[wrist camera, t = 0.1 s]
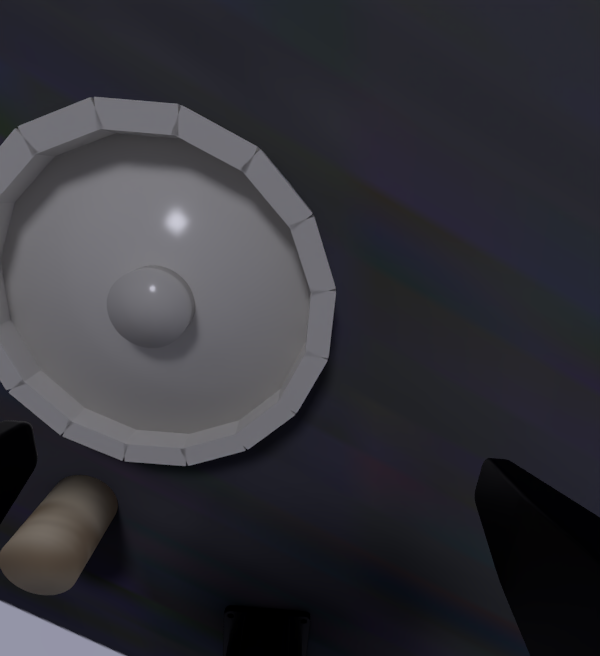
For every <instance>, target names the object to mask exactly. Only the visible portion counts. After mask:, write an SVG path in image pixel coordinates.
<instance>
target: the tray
mask: <svg viewBox="0 0 600 656" xmlns="http://www.w3.org/2000/svg"><path fill="white" fill-rule="evenodd" d="M18 128H19V129H16V128H15V129H14V130H13V131H12V133H11V134H10V135H9V136H8V138H7V139H6V140H5V141H4V142H3V144H2V145H1V146H0V381H1V383H2V384H3V386H4V387H5V389H6V390H8V389H11V390H10V391H9V392H8V393H10V394H11V395H12V396H13V397H15V398H16V399H17V400H18V401H19V402H21V403H22V404H23V405H24V406H25V407H27V408H28V409H29V410H30V411H32V412H33V413H34V414H35V415H36V416H38V417H39V418H40V419H41V420H42V421H44V422H45V423H46V424H47V425H49V426H50V427H51V428H52V429H53V430H55V431H56V432H57V433H58V434H59V435H61V434H62V433H63V432H64V434H63V437H65V438H67V439H70V440H72V441H75V442H77V443H80V444H82V445H85V446H87V447H90V448H92V449H94V450H97V451H99V452H102V453H104V454H107V455H109V456H112V457H114V458H117V459H119V460H121V461H122V460H123V459H124V457H125V461H126V462H138V463H151V464H164V465H177V466H186V465H187V464H188V466H190V465H194V464H198V463H202V462H205V461H209V460H213V459H217V458H220V457H224V456H228V455H232V454H236V453H239V452H243V451H246V448H247V449H250V448H251V447H252V446H254V445H255V444H256V443H258V442H259V441H261V440H262V439H263V438H265V437H266V436H267V435H269V434H270V433H271V432H273V431H274V430H276V429H277V428H278V427H280V426H281V425H282V424H284V423H285V422H286V421H288V420H289V419H291V418H292V417H293V416H295V413H297V412H298V410H299V409H300V407H301V405H302V404H303V402H304V400H305V398H306V397H307V395H308V393H309V392H310V390H311V388H312V387H313V385H314V383H315V381H316V380H317V378H318V376H319V375H320V373H321V371H322V369H323V368H324V366H325V364H326V363H327V361H328V359H327V358H329V350H330V341H331V332H332V323H333V315H334V306H335V297H336V290H335V289H336V287H335V284H334V280H333V277H332V274H331V270H330V267H329V264H328V260H327V257H326V254H325V251H324V247H323V244H322V241H321V237H320V234H319V231H318V227H317V224H316V221H315V217H314V215H312V216H310V215H311V214H313V213H312V211H311V210H310V208H309V207H308V206H307V205H306V204H305V202H304V201H303V200H302V199H301V197H300V196H299V195H298V194H297V192H296V191H295V190H294V188H293V187H292V186H291V184H290V183H289V182H288V181H287V180H286V178H285V177H284V176H283V175H282V174H281V173H280V171H279V170H278V169H277V168H276V166H275V165H274V164H273V163H272V162H271V160H270V159H269V158H268V157H267V155H266V154H265V153H264V152H263V151H262V150H261V149H260V148H258V147H257V146H255V145H253V144H252V143H250V142H248V141H246V140H244V139H242V138H241V137H239V136H237V135H235V134H233V133H232V132H230V131H228V130H226V129H224V128H222V127H221V126H219V125H217V124H215V123H213V122H211V121H210V120H208V119H206V118H204V117H202V116H201V115H199V114H197V113H195V112H193V111H191V110H190V109H188V108H186V107H184V106H182V105H181V106H180V105H179V104H173V103H161V102H149V101H137V100H126V99H114V98H102V97H94V99H93V98H91V97H90V98H87V99H85V100H82V101H80V102H77V103H75V104H72V105H70V106H67V107H65V108H62V109H60V110H57V111H55V112H52V113H50V114H47V115H45V116H42V117H40V118H37V119H35V120H32V121H30V122H27V123H25V124H22V125H20V126H18Z"/></svg>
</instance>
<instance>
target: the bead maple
mask: <svg viewBox="0 0 600 656" xmlns="http://www.w3.org/2000/svg"><path fill="white" fill-rule="evenodd" d="M117 509H118V502H117V498H116V496H115V494H114V492H113V491H112V490H111V489H110V487H108V486H107V485H106V484H105V483H103V482H102V481H100V480H98V479H96V478H93V477H90V476H85V475H73V476H69V477H66V478H64V479H62V480H61V481H60V482H59V483H58V484H57V485H56V486H55V487H54V488H53V490H52V491H51V492H50V493H49V494H48V495H47V497H46V498H45V499H44V500H43V501H42V502H41V504H40V505H39V506H38V507H37V508H36V510H35V511H34V512H33V513H32V514H31V515H30V517H29V518H28V519H27V520H26V521H25V522H24V524H23V525H22V526H21V527H20V528H19V530H18V531H17V532H16V533H15V534H14V535H13V537H12V538H11V539H10V540H9V541H8V542H7V544H6V545H5V546H4V547H3V549H2V550H1V552H0V567H1V570H2V572H3V573H4V575H5V576H6V577H7V578H8V579H9V580H10V581H11V582H12V583H13V584H15V585H16V586H18V587H19V588H21V589H23V590H25V591H28V592H31V593H34V594H39V595H56V594H60V593H63V592H65V591H67V590H69V589H70V588H71V587H72V586H73V585H74V584H75V582H76V581H77V579H78V577H79V576H80V574H81V572H82V570H83V569H84V567H85V565H86V564H87V562H88V560H89V559H90V557H91V555H92V554H93V552H94V550H95V548H96V547H97V545H98V543H99V542H100V540H101V538H102V537H103V535H104V533H105V532H106V530H107V528H108V526H109V525H110V523H111V521H112V520H113V518H114V516H115V515H116V513H117Z"/></svg>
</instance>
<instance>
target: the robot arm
mask: <svg viewBox="0 0 600 656" xmlns="http://www.w3.org/2000/svg"><path fill="white" fill-rule="evenodd" d="M36 463H37V451H36V445H35V439H34V433H33V428H32V426H31V424H30V423H28V422H25V421H13V420H6V421H2V422H0V524H1V522H2V521H3V519H4V517H5V516H6V514H7V513H8V511H9V509H10V508H11V506H12V505H13V503H14V501H15V500H16V498H17V497H18V495H19V493H20V492H21V490H22V488H23V487H24V485H25V484H26V482H27V480H28V479H29V477H30V476H31V474H32V472H33V471H34V469H35V466H36ZM475 503H476V506H477V510H478V513H479V516H480V519H481V523H482V526H483V529H484V532H485V536H486V539H487V542H488V545H489V549H490V552H491V555H492V558H493V562H494V565H495V568H496V571H497V574H498V577H499V580H500V583H501V585H502V588H503V591H504V593H505V596H506V598H507V601H508V603H509V605H510V608H511V610H512V613H513V615H514V617H515V620H516V622H517V625H518V627H519V629H520V632H521V634H522V637H523V639H524V641H525V644H526V646H527V649H528V651H529V653H530V656H600V517H598V516H597V515H595V514H593V513H592V512H590V511H589V510H587V509H586V508H584V507H582V506H581V505H579V504H578V503H576V502H574V501H573V500H571V499H570V498H568V497H567V496H565V495H563V494H562V493H560V492H559V491H557V490H555V489H554V488H552V487H551V486H549V485H547V484H546V483H544V482H543V481H541V480H540V479H538V478H536V477H535V476H533V475H532V474H530V473H528V472H527V471H525V470H524V469H522V468H521V467H519V466H517V465H516V464H514V463H513V462H511V461H509V460H506V459H495V458H488V459H486V460H485V461H484V463H483V465H482V468H481V472H480V476H479V479H478V483H477V486H476V490H475ZM309 628H310V614H309V613H308V612H305V611H293V610H279V609H266V608H253V607H239V606H228V607H226V608H225V613H224V637H223V656H306V652H307V644H308V636H309Z"/></svg>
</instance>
